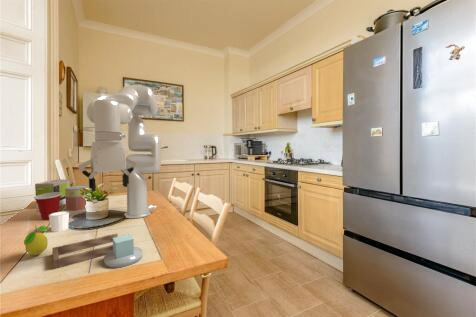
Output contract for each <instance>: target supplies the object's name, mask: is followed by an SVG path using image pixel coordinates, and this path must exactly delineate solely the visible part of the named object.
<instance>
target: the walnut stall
mask: <svg viewBox="0 0 476 317" xmlns="http://www.w3.org/2000/svg"><path fill="white" fill-rule="evenodd" d="M115 237H118V233H112V234H108V235H104V236H100V237H95V238H91V239H87V240H81V241H77V242H73V243H68V244H63V245H60V246H54V247H52V261H53V269H54V270H56V269H60V268H62V267H67V266H71V265H74V264H79V263H81V262H85V261H90V260H92V259H96V258H100V257H103V256H105V255H106V254H107V253H109V252H111V251H113V244H110V243H113V238H115ZM106 244H110V245H107V246H106ZM101 245H105V246H102V247H99V246H101ZM97 246H98V247H99V248H94V249H91V250H86V251H83V252H78V253H75V254H71V255H66V256H63V257H60V255H64V254H69V253H73V252H76V251H81V250H85V249H89V248H92V247H97Z"/></svg>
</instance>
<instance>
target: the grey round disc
mask: <svg viewBox="0 0 476 317" xmlns="http://www.w3.org/2000/svg"><path fill="white" fill-rule="evenodd" d="M142 258H143V250H142V248H141V247H138V246H134V254H133V255H129V256H125V257H122V258H118V259H116V257H115V256H114V254H113V251H111V252H109V253H107V254H106V255H104V257H103V265H104V266H105V267H107V268H112V269H119V268H120V269H121V268H126V267H129V266H132V265H134V264H136V263H138V262H139V261H141V259H142Z"/></svg>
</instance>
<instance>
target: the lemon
mask: <svg viewBox="0 0 476 317" xmlns="http://www.w3.org/2000/svg"><path fill="white" fill-rule="evenodd" d="M38 230H39V231H42V233H41V232H38ZM47 231H48V228H47V227H46V225H40V226H38V227H37V225H35V230H34V231H32V232H30V233H28V234H27V235H26V236H25V238H24V241H23V244H24V247H25V251H26V252H27V253H28V254H30V255H35V256H38V255H40V254H41V253H43V252H44V251H45V250H46V249H47V248H48V244H49V243H48V237H47V236H46V235H45V234H44V233H43V232H47Z"/></svg>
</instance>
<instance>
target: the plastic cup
mask: <svg viewBox="0 0 476 317" xmlns="http://www.w3.org/2000/svg"><path fill="white" fill-rule="evenodd" d="M61 195H62V193H61V192H52V193H45V194H41V195H37V196H36V195H35V196H34V197H33V199H34V200H35V202H37V204H38V207H39V209H38V210H39V211H38V212H39V214H40V216H41V219H42V220H43V221H48V220H49V221H50V219H49V215H50V214H52V213H56V212H59V209H60V206H59V204H60V198H61Z"/></svg>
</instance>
